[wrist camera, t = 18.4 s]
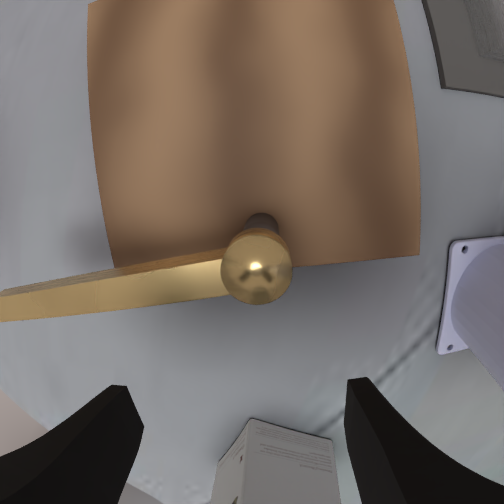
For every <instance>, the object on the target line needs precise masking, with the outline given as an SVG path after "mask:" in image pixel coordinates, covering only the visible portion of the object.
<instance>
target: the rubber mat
mask: <svg viewBox="0 0 504 504" xmlns="http://www.w3.org/2000/svg"><path fill="white" fill-rule="evenodd" d="M422 3H423V6H424V10H425V13H426V17H427V21H428V25H429V28H430V33H431V37H432V41H433V46H434V50H435V55H436V60H437V65H438V71H439V77H440V83H441V88H444V89H452V90H460V91H467V92H473V93H480V94H485V95H491V96H496V97H502V98H504V62H501V61H497V60H493V59H489V58H485V57H481V56H478V51H477V47H476V43H475V39H474V35H473V31H472V27H471V24H470V20H469V17H468V13H467V10H466V7H465V4H464V1H463V0H422Z"/></svg>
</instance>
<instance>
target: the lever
mask: <svg viewBox="0 0 504 504" xmlns="http://www.w3.org/2000/svg"><path fill="white" fill-rule="evenodd" d="M291 279H292V263H291V257H290V252H289V249H288V246H287V244H286V243H285V241H284V240H283V239H282V238H281V237H280V236H279V235H278V234H276V233H275V232H273V231H271V230H268V229H264V228H251V229H247V230H244V231H242V232H240V233H239V234H237V235H236V236H235V237H234V238H233V239H232V240H231V242H230V243H229V245H228V247H227V248H222V249H217V250H211V251H206V252H200V253H195V254H189V255H184V256H178V257H173V258H167V259H162V260H156V261H151V262H146V263H140V264H135V265H130V266H124V267H119V268H114V269H108V270H103V271H98V272H92V273H87V274H82V275H77V276H71V277H66V278H61V279H56V280H50V281H45V282H40V283H35V284H30V285H25V286H20V287H14V288H9V289H4V290H3V291H1V292H0V322H7V321H18V320H30V319H41V318H51V317H61V316H71V315H80V314H89V313H98V312H107V311H115V310H123V309H131V308H139V307H147V306H155V305H162V304H170V303H177V302H184V301H191V300H198V299H205V298H212V297H218V296H225V295H232V296H233V297H235V298H236V299H238V300H240V301H242V302H244V303H248V304H253V305H260V304H266V303H270V302H272V301H274V300H276V299H278V298H279V297H280V296H281V295H283V294H284V292H285V291H286V290H287V288H288V287H289V285H290V282H291Z"/></svg>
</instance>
